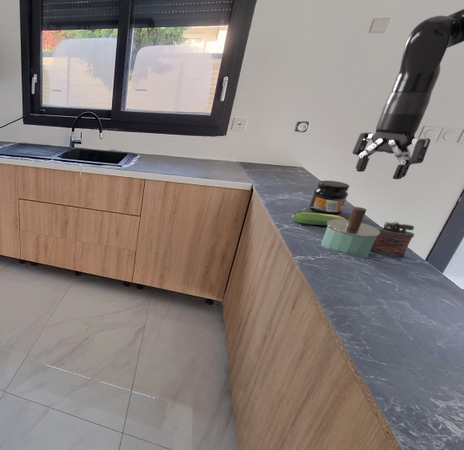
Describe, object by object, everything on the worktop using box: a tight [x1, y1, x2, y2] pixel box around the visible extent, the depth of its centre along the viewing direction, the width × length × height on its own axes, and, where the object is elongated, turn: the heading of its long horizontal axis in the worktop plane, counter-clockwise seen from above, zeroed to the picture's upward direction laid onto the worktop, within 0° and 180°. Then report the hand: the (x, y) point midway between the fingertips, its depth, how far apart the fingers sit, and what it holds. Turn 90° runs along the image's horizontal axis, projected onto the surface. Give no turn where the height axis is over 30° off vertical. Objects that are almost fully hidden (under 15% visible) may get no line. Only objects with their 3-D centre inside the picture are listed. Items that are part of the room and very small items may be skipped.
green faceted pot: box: [320, 225, 376, 259], centre depth 97 cm, size 11×11×8 cm
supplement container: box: [309, 180, 350, 216], centre depth 126 cm, size 10×10×12 cm
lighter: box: [370, 221, 415, 258], centre depth 94 cm, size 8×3×10 cm, turn 55°
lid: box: [326, 206, 380, 237], centre depth 94 cm, size 12×12×7 cm
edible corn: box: [291, 210, 350, 226], centre depth 115 cm, size 5×20×5 cm, turn 70°
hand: (377, 174), depth 84 cm, fingers open, 8 cm apart
